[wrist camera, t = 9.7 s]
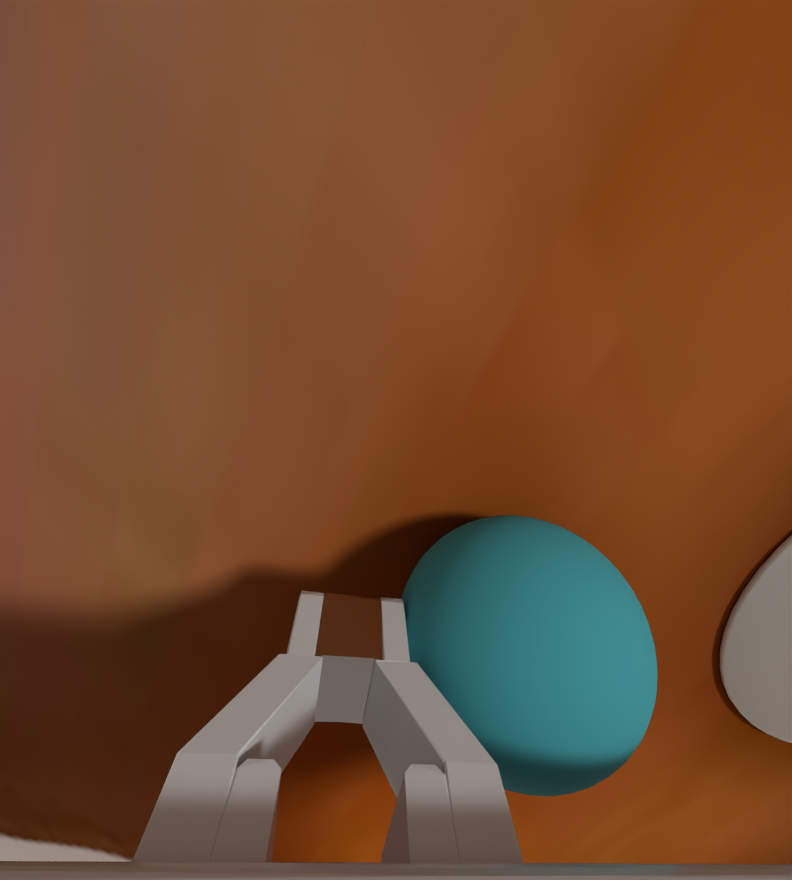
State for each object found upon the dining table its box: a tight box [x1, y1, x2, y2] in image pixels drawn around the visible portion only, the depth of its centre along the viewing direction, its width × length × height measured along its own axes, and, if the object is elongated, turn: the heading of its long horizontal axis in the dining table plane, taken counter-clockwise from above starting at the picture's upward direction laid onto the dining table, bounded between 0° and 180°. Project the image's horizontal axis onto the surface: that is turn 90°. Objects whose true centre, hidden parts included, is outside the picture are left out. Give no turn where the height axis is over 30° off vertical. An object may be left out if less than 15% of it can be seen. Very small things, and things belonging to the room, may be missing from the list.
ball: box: [401, 515, 657, 796], centre depth 9 cm, size 6×6×6 cm
